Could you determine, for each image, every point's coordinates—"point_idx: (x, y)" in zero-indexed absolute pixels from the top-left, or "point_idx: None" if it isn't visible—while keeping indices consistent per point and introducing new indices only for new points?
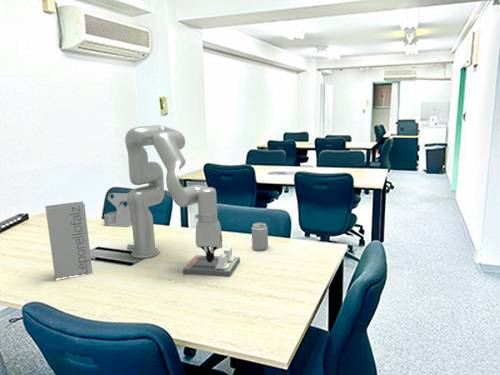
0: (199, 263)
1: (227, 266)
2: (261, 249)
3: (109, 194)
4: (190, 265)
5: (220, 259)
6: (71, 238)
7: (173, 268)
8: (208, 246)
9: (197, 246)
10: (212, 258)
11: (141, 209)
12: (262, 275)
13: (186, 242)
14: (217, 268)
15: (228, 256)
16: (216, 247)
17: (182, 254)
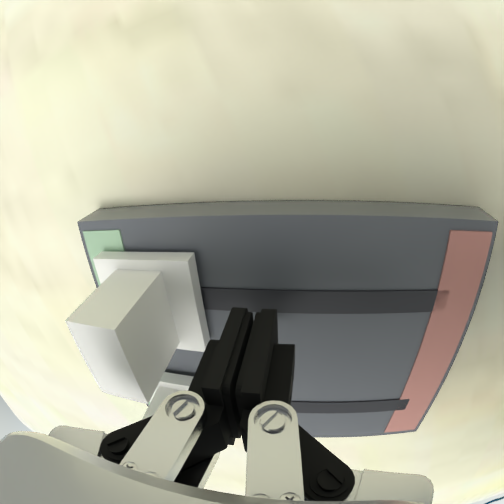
0: (383, 348)
1: (102, 280)
2: None
3: None
4: (449, 300)
5: (106, 311)
6: None
7: None
8: (158, 483)
9: (420, 483)
10: (212, 346)
11: None
12: (3, 254)
13: (445, 482)
14: (173, 254)
15: (157, 405)
16: (100, 448)
17: (472, 428)
